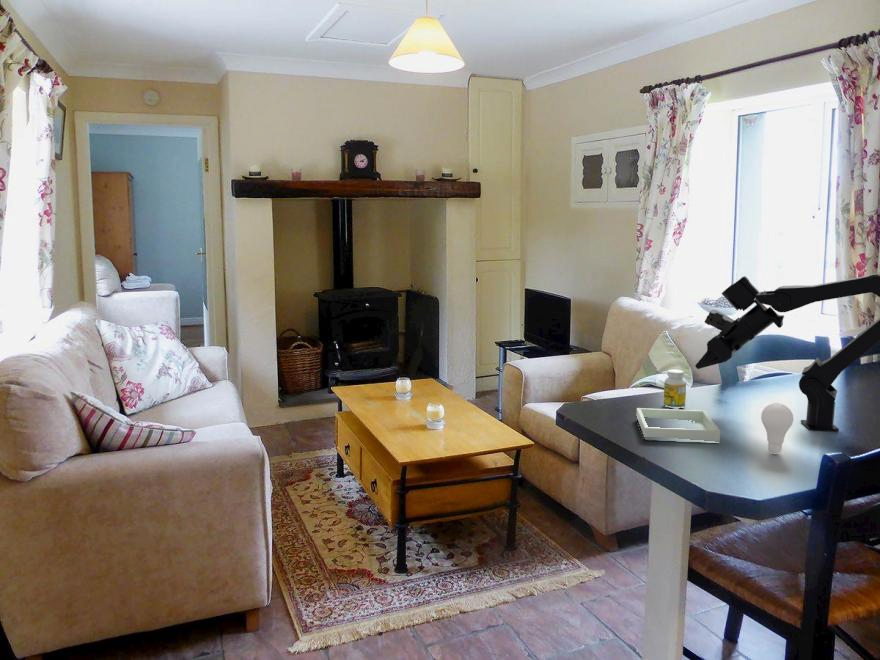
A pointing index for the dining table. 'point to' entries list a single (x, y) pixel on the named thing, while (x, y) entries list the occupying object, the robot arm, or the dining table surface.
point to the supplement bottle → (675, 389)
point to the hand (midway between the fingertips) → (700, 363)
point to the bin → (699, 416)
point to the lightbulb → (776, 425)
